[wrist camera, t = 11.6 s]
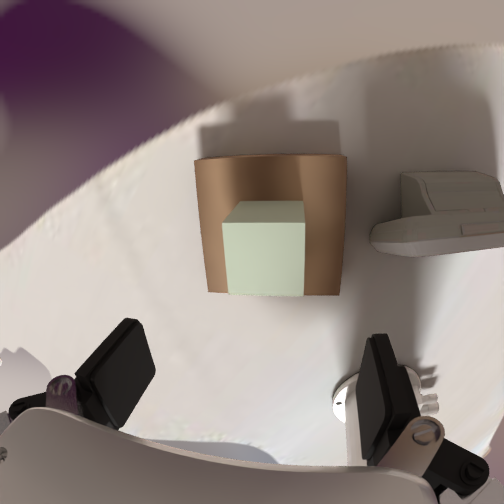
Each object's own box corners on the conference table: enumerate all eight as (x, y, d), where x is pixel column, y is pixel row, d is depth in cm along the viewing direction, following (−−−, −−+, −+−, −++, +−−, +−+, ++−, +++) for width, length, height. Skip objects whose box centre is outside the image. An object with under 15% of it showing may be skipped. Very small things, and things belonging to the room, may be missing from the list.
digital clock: (359, 244, 26) (388, 305, 16) (371, 148, 23) (419, 157, 13) (486, 259, 24) (539, 308, 14) (503, 180, 21) (570, 207, 11)
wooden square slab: (340, 154, 23) (346, 157, 20) (335, 279, 28) (339, 295, 25) (205, 157, 25) (194, 160, 22) (216, 277, 30) (208, 292, 27)
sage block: (303, 200, 22) (305, 222, 17) (302, 259, 24) (303, 296, 19) (240, 201, 23) (221, 222, 18) (243, 258, 25) (228, 294, 20)
